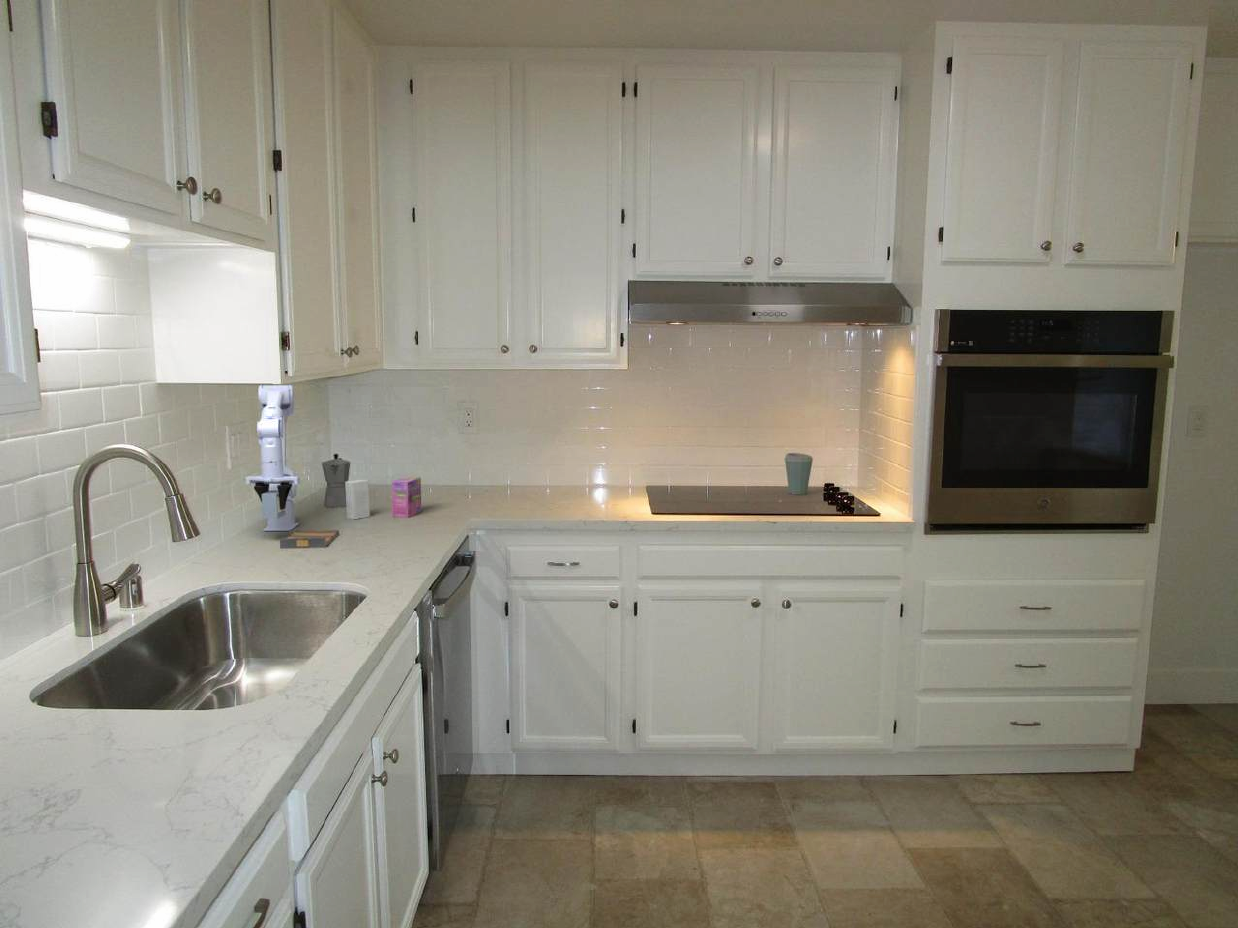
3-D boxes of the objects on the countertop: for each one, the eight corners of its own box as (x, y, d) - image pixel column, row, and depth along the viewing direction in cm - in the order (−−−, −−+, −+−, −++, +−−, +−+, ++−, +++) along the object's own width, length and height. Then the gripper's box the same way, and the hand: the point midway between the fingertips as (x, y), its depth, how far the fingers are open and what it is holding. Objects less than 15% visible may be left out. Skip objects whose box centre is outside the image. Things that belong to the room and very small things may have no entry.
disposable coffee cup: (816, 492, 326) (817, 453, 324) (806, 497, 317) (807, 456, 315) (789, 490, 332) (790, 451, 330) (779, 494, 323) (780, 454, 321)
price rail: (281, 547, 235) (280, 538, 235) (326, 546, 236) (325, 537, 236) (279, 548, 234) (279, 539, 234) (325, 547, 235) (324, 538, 235)
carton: (263, 518, 240) (261, 494, 239) (271, 514, 246) (270, 490, 245) (277, 518, 240) (276, 494, 239) (285, 514, 246) (284, 490, 245)
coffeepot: (348, 508, 290) (346, 456, 288) (319, 509, 289) (317, 456, 287) (356, 500, 306) (354, 450, 303) (328, 501, 304) (326, 450, 302)
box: (408, 518, 276) (407, 481, 274) (392, 517, 277) (390, 481, 275) (422, 511, 286) (421, 476, 284) (406, 511, 287) (405, 476, 285)
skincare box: (362, 515, 280) (361, 479, 278) (370, 517, 277) (368, 480, 275) (346, 518, 275) (344, 481, 273) (353, 520, 272) (352, 482, 271)
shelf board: (296, 534, 251) (296, 530, 251) (338, 533, 252) (338, 529, 252) (281, 547, 235) (281, 543, 235) (326, 546, 236) (326, 542, 236)
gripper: (240, 463, 237) (242, 511, 239) (292, 463, 237) (294, 511, 239) (250, 459, 244) (253, 506, 246) (301, 460, 244) (303, 507, 246)
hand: (274, 509), depth 243 cm, fingers closed on carton, 4 cm apart
